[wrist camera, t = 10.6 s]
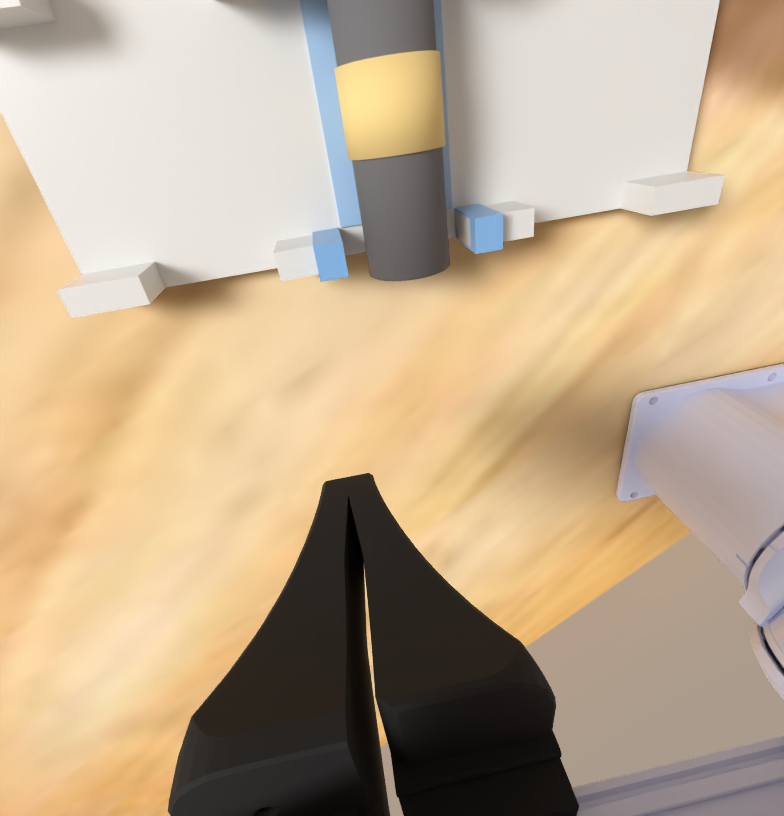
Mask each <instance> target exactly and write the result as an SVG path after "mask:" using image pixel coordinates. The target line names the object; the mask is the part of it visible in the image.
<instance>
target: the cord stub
mask: <svg viewBox="0 0 784 816" xmlns="http://www.w3.org/2000/svg"><path fill="white" fill-rule="evenodd" d="M327 6H328V12H329V18H330V25H331V31H332V38H333V44H334V50H335V57H336V63H337V67H336V68H335V69H334V72H335V78H336V84H337V90H338V97H339V103H340V109H341V115H342V121H343V128H344V134H345V140H346V146H347V152H348V159H349V160H352V164H353V171H354V177H355V183H356V190H357V196H358V202H359V209H360V215H361V222H362V228H363V234H364V241H365V247H366V253H367V260H368V266H369V272H370V276H371V277H373V278H375V279H378V280H384V281H405V280H413V279H419V278H424V277H428V276H432V275H435V274H437V273H440V272H442V271H444V270H445V269H447V268H448V267H449V265H450V258H449V242H448V226H447V210H446V194H445V178H444V162H443V146H445V145H446V144H445V127H444V110H443V93H442V76H441V60H440V51H437V50H436V34H435V18H434V2H433V0H327Z"/></svg>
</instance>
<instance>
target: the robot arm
mask: <svg viewBox="0 0 784 816" xmlns="http://www.w3.org/2000/svg"><path fill="white" fill-rule="evenodd" d="M652 398H653V399H652ZM650 399H652V400H651V401H650ZM654 495H656V496H657V497H658V498H659V499H660V500H661V501H662V502H663V503H664V504H665V505H666V506H667V507H668V508H669V510H670V511H671V512H672V513H673V514H674V515H675V516H676V517H677V518H678V519H679V520H680V521H681V522H682V523H683V524H684V525H685V526H686V527H687V528H688V529H689V530H690V532H691V533H692V534H693V535H694V536H695V537H696V538H698V540H699V541H700V542H701V543H702V544H703V545H704V546H705V547H706V548H707V549H708V550H709V551H710V552H711V554H712V555H714V557H715V558H716V559H717V560H718V561H719V562H720V563H721V564H722V565H723V566H724V567H725V568H726V569H727V570H728V571H729V572H730V573H731V574H732V575H733V577H734V578H735V579H736V580H737V581H738V582H739V583H740V584H741V585H742V586H743V587H744V588H745V589H746V592H745V594H744V595H743V597H742V598H741V599H740V600H739V604H740V605H741V606H742V607H743V608H744V609H745V611H746V612H747V613H748V614H749V615H750V616H751V617H752V618H753V619H754V620H755V621H756V622H755V623H754V624H753V625H752V627H751V630H750V640H751V645H752V648H753V650H754V653H755V656H756V657H757V659H758V662H759V664H760V666H761V668H762V670H763V672H764V674H765V675H766V677H767V678H768V680H769V682H770V683H771V684H772V686H773V687H774V688H775V690H776V691H777V692H778V693H779V695H780V696H781V697H782V698H783V699H784V363H783V364H778V365H774V366H769V367H764V368H759V369H754V370H749V371H744V372H739V373H734V374H729V375H724V376H719V377H714V378H709V379H704V380H699V381H694V382H689V383H684V384H679V385H674V386H669V387H664V388H659V389H654V390H649V391H645V392H641V393H639V394H637V395H636V396H635V397H634V399H633V403H632V408H631V414H630V419H629V425H628V430H627V436H626V442H625V447H624V453H623V458H622V464H621V469H620V475H619V481H618V486H617V492H616V497H617V498H618V499H619V500H620V501H622V502H626V501H631V500H635V499H640V498H644V497H649V496H654ZM364 568H365V578H366V587H367V598H368V608H369V619H370V630H371V642H372V655H373V668H374V682H375V697H376V701H377V704H378V708H379V712H380V715H381V719H382V722H383V726H384V730H385V733H386V737H387V741H388V744H389V748H390V752H391V758H392V765H393V774H394V781H395V788H396V794H397V797H399V801H400V804H401V807H402V811H403V815H404V816H784V735H780V736H776V737H772V738H768V739H764V740H760V741H756V742H753V743H749V744H745V745H740V746H736V747H732V748H728V749H724V750H720V751H716V752H712V753H708V754H704V755H701V756H696V757H692V758H688V759H684V760H680V761H677V762H672V763H668V764H664V765H660V766H656V767H653V768H649V769H644V770H641V771H637V772H632V773H629V774H624V775H620V776H616V777H613V778H609V779H604V780H600V781H596V782H592V783H588V784H584V785H580V786H577V787H571V784H570V782H569V779H568V777H567V774H566V772H565V769H564V767H563V764H562V762H561V759H560V757H561V751H560V748H559V745H558V742H557V740H556V738H555V735H554V733H553V731H552V728H553V722H554V715H555V709H556V703H555V696H554V694H553V692H552V689H551V687H550V686H549V684H548V682H547V680H546V678H545V677H544V675H543V673H542V671H541V670H540V668H539V667H538V665H537V664H536V662H535V661H534V659H533V658H532V656H531V655H530V654H529V652H528V651H527V650H526V648H525V647H524V645H523V644H522V643H521V642H520V641H519V640H518V639H516V638H515V637H513V636H512V635H511V634H509V633H508V632H506V631H505V630H504V629H502V628H501V627H500V626H498V625H497V624H496V623H494V622H493V621H492V620H490V619H489V618H488V617H487V616H485V615H484V614H483V613H482V612H481V611H479V610H478V609H477V608H476V607H474V606H473V605H472V604H471V603H470V602H469V601H468V600H467V599H465V598H464V597H463V596H462V595H461V594H460V593H459V592H458V591H457V590H456V589H454V588H453V587H452V586H451V585H450V584H449V583H448V582H447V581H446V580H445V579H444V578H443V577H442V576H441V575H440V574H439V573H438V572H437V571H436V570H435V569H434V568H433V567H432V566H431V564H430V563H429V562H428V561H427V560H426V559H425V558H424V557H423V555H422V554H421V553H420V552H419V551H418V550H417V548H416V547H415V546H414V545H413V543H412V542H411V541H410V539H409V538H408V537H407V535H406V534H405V533H404V531H403V530H402V529H401V527H400V526H399V524H398V523H397V521H396V520H395V518H394V517H393V515H392V514H391V512H390V511H389V509H388V507H387V506H386V504H385V502H384V500H383V498H382V497H381V495H380V493H379V491H378V488H377V486H376V484H375V481H374V477H373V475H371V474H369V473H366V474H361V475H356V476H351V477H346V478H340V479H335V480H330V481H326V482H325V483H324V484H323V487H322V492H321V496H320V500H319V504H318V508H317V511H316V514H315V517H314V520H313V523H312V526H311V528H310V531H309V534H308V536H307V539H306V542H305V544H304V546H303V549H302V551H301V553H300V556H299V558H298V560H297V562H296V565H295V567H294V569H293V571H292V573H291V575H290V577H289V579H288V581H287V583H286V585H285V587H284V589H283V590H282V592H281V594H280V596H279V598H278V599H277V601H276V603H275V605H274V606H273V608H272V609H271V611H270V613H269V614H268V616H267V618H266V619H265V621H264V623H263V624H262V626H261V627H260V629H259V630H258V632H257V633H256V635H255V636H254V638H253V639H252V641H251V642H250V643H249V645H248V646H247V648H246V649H245V650H244V652H243V653H242V654H241V656H240V657H239V659H238V660H237V661H236V663H235V664H234V666H233V667H232V668H231V670H230V671H229V672H228V673H227V675H226V676H225V677H224V679H223V680H222V681H221V682H220V683H219V685H218V686H217V687H216V688H215V689H214V691H213V692H212V693H211V694H210V695H209V697H208V698H207V699H206V700H205V701H204V703H203V704H202V705H201V706H200V707H199V709H198V710H197V711H196V712H195V713H194V714H193V716H192V717H191V720H190V723H189V725H188V728H187V731H186V734H185V737H184V741H183V744H182V747H181V750H180V753H179V756H178V760H177V765H176V769H175V774H174V779H173V784H172V789H171V794H170V799H169V806H168V812H169V814H170V815H171V816H390V813H389V806H388V799H387V792H386V785H385V778H384V771H383V764H382V757H381V749H380V741H379V734H378V727H377V719H376V712H375V704H374V697H373V689H372V682H371V674H370V666H369V658H368V649H367V636H366V610H365V584H364Z"/></svg>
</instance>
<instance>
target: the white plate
mask: <svg viewBox="0 0 784 816" xmlns="http://www.w3.org/2000/svg"><path fill="white" fill-rule="evenodd" d="M433 2H434V18H435V34H436V50H437V51H440V60H441V76H442V93H443V110H444V127H445V144H446V145H445V146H443V162H444V178H445V194H446V210H447V226H448V238H453V237H456V240H457V241H459V242H460V243H461V244H463V245H464V246H465V247H467V248H468V249H470V250H471V251H472V252H474V253H475V254H480V253H485V252H491V251H497V250H502V249H503V242H506V241H512V240H517V239H523V238H529V237H534V223H539V222H545V221H551V220H556V219H562V218H568V217H574V216H579V215H585V214H591V213H597V212H602V211H608V210H614V209H619V208H621V209H625V210H629V211H633V212H637V213H641V214H645V215H649V216H653V215H659V214H665V213H671V212H676V211H682V210H688V209H693V208H699V207H705V206H710V205H716V204H718V203H719V199H720V194H721V190H722V186H723V182H724V177H725V175H722V174H712V173H702V172H692V171H687V168H688V162H689V157H690V152H691V147H692V142H693V137H694V131H695V126H696V121H697V116H698V111H699V105H700V100H701V95H702V90H703V85H704V80H705V74H706V69H707V64H708V59H709V54H710V48H711V43H712V38H713V33H714V28H715V23H716V17H717V12H718V7H719V2H720V0H433ZM336 67H337V63H336V57H335V50H334V44H333V38H332V31H331V25H330V18H329V12H328V6H327V0H0V112H1V114H2V116H3V118H4V120H5V122H6V124H7V126H8V128H9V130H10V132H11V134H12V136H13V138H14V140H15V142H16V144H17V146H18V148H19V150H20V152H21V154H22V156H23V158H24V160H25V162H26V164H27V166H28V168H29V170H30V172H31V174H32V176H33V178H34V180H35V182H36V184H37V186H38V188H39V190H40V192H41V194H42V196H43V198H44V200H45V202H46V204H47V206H48V208H49V210H50V212H51V214H52V216H53V218H54V220H55V222H56V224H57V226H58V228H59V230H60V232H61V234H62V236H63V238H64V240H65V242H66V244H67V246H68V248H69V250H70V252H71V254H72V256H73V258H74V260H75V262H76V264H77V266H78V268H79V270H80V272H81V275H79V276H78V277H76V278H75V279H73V280H71V281H70V282H68V283H67V284H65V285H63V286H62V287H60V288H59V289H57V292H58V294H59V296H60V298H61V300H62V302H63V303H64V305H65V307H66V309H67V311H68V313H69V315H70V316H71V318H75V317H80V316H86V315H92V314H97V313H103V312H109V311H114V310H120V309H126V308H131V307H137V306H143V305H148V304H151V303H152V302H153V301H154V300H155V298H156V297H157V296H158V295H159V294H160V293H161V292H162V291H163V290H164V289H165V288H166V287H172V286H178V285H183V284H189V283H195V282H201V281H206V280H212V279H218V278H224V277H229V276H235V275H241V274H247V273H252V272H258V271H264V270H270V269H275V268H277V269H278V273H279V276H280V280H281V281H285V280H290V279H296V278H302V277H307V276H313V275H319V277H320V281H321V282H322V281H327V280H333V279H339V278H344V277H349V275H348V270H347V264H346V259H345V256H350V255H356V254H361V253H366V247H365V241H364V234H363V228H362V222H361V215H360V209H359V202H358V196H357V190H356V183H355V177H354V171H353V164H352V160H349V159H348V152H347V146H346V140H345V134H344V128H343V121H342V115H341V109H340V103H339V97H338V90H337V84H336V78H335V72H334V69H335V68H336Z"/></svg>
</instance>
